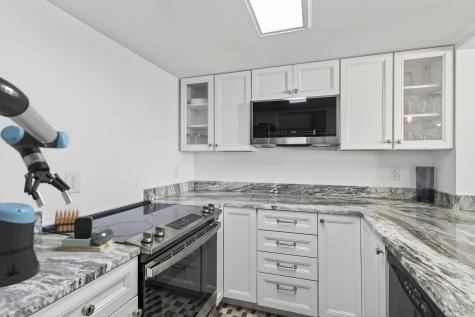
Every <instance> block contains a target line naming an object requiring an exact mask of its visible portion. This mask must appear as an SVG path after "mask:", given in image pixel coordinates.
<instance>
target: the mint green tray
mask: <svg viewBox="0 0 475 317" xmlns="http://www.w3.org/2000/svg"><path fill="white" fill-rule="evenodd" d="M113 236H114V231H113V229H111V228H105V229H104V230H101V231H92V237H91V238H89V239H74V233H73V234H71V235H69V236H66V237H65V238H62V239H61V246H59V251H62V252H96V253H97V252H102V251H103V250H105V249H107V248H108V247H110V246H111V245H113V244H114V243H116V238H115V237H114V238H113Z"/></svg>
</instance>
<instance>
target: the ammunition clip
mask: <svg viewBox="0 0 475 317" xmlns="http://www.w3.org/2000/svg"><path fill="white" fill-rule="evenodd" d="M59 211H60V212H59ZM79 212H80V211H79V209H78V208H77V209H76V211H75V209H72V212H71V209H68V212H67V209H64V212H63V210H62V209H60V210H58V209H56V211H55V218H54V227H53V228H54V229H53V234H54V235H61V234H72V233H73V232H74V220H75V219H76V218H77V217H80V213H79ZM73 234H74V233H73Z"/></svg>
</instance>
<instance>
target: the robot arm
mask: <svg viewBox="0 0 475 317" xmlns="http://www.w3.org/2000/svg"><path fill="white" fill-rule="evenodd" d="M30 102H31V101H30V99H29V97H28V96H27V95H26V94H25V93H24V92H23V91H22V90H21V89H20V88H18V87H17V86H16V85H15V84H13V83H12V82H10V81H8V80H6V79H5V78H3V77H1V76H0V117H4V118H8V119H10V120H11V121H12V122H13V123H15V124H16V125H13V124H12V125H8V126H5V127H4V128H2V130H1V131H0V138H1V139H2V140H3V141H4V143H6V144H8V145H9V146H10V147H12V149H14V150H15V151H17V153H18V154H19V156H20V157H21V159H22V161H23V163H24V165H25V168H26V169H27V173H26V174H25V175H24V179H25V181H24V182H25V183H24V187H23V193H25V194H27V195H28V196H31V198H32V200H33V201H35V204H36V205H37V207H38V209H39V208H42V207H43V206H45V205H46V203H45V201H44V198H43V196H42V195H41V192H40V191H39V190H38V189H39V188H38V187H39V186H40V184H47V185H51V186H52V187H54V188H55V189H57V191H59V192H61V193H60V194H61V196H62V199H63V200H64V202H65V204H66V205H67V206H69V205H70V204H72V203H73V200H72V198H71V195H70V193H69V190H71V187H70V186H69V185H68V184H67V183H66V182H65V181H64V180H63V179H62V178H61V177H60V176H59V174H58V173H57V172H55V173H53V174H52V173H51V172H50V171H51V168H50V166H49V164H48V162H47V160H46V158H45V156H44V154H43V153H42V150H41V149H66V148H67V147H68V146H69V142H70V141H69V135H68V133H67V132H65V131H58V130H56V129H55V128H54V127H53V126H52V125H51V124H50V123H49V122H48V121H47V120H46V119H45V118H44V117H43V116H42V115H41V113H39V111H37V110H36V109H35V108H34V107H33V106H32V105H31V103H30ZM33 179H34V180H33ZM35 220H36V217H35V209H34V207H33V206H32V205H30V204H27V203H23V202H0V288H1V287H6V286H10V285H14V284H18V283H20V282H23V281H26V280H28V279H30V278H33V277H34V276H36V275H37V274H39V272H40V269H41V268H40V260H38V257H37V254H36V252H35V248H34V244H35V243H34V242H35V240H34V239H35Z"/></svg>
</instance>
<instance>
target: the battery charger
mask: <svg viewBox="0 0 475 317" xmlns="http://www.w3.org/2000/svg"><path fill="white" fill-rule="evenodd" d="M93 228H94V218H93V216H90V215H84V216H82V215H81V216H79V217H77V218H76V217H75V220H74V233H73V234H74V239H89V238H91V237H92V232H93Z"/></svg>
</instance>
